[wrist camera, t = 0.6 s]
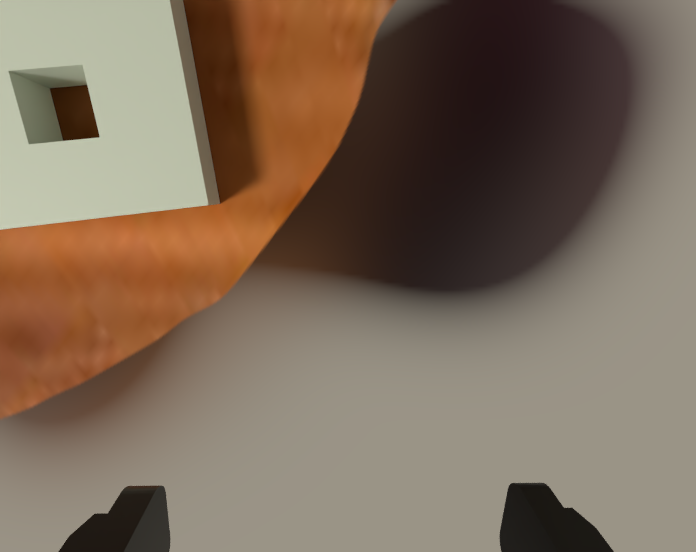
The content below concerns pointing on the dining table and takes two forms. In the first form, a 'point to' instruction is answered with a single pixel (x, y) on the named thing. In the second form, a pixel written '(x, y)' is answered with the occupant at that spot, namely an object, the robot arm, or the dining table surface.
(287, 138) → the dining table surface
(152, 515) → the robot arm
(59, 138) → the hole block
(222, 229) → the dining table surface
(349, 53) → the dining table surface
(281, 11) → the dining table surface
